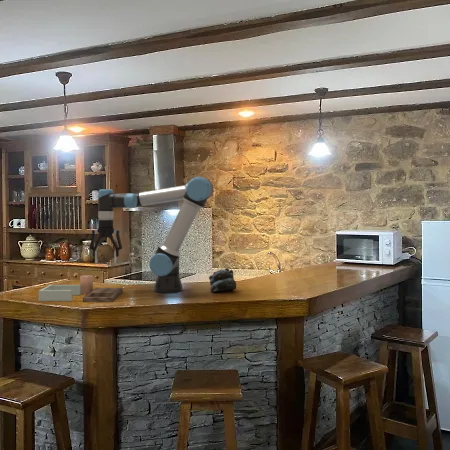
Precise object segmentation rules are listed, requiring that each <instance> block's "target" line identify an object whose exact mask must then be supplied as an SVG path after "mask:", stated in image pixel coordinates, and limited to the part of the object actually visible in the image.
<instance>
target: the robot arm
mask: <svg viewBox="0 0 450 450" xmlns="http://www.w3.org/2000/svg"><path fill="white" fill-rule="evenodd" d="M213 193H214V185H213V183H212V181H211V180H209V179H207V178H206V177H203V176H196V177H195V176H194V177H192V179H190V180H189V181H188V182H186V183H185V184H184V185H179V186H172V187H171V186H170V187H165V188H159V189H153V190H146V191H139V192H133V193H131V192H129V193H126V192H123V193H120V192H119V193H116V192H114V190H113V189H111V188H110V189H109V188H107V189H105V188H102V189H101V188H100V189H99V190H98V196H97V205H98V206H97V209H98V210H97V211H98V212H97V213H98V214H97V217H98V224H97V226H98V227H97V229H92V230H91V234H92V235H91V239H90V244H89V250H92V254H93V255H92V256H93V257H95V258H94V263H95V264H98V263H99V260H98V258H97V250H98V248H99V246H100V243H101V241H102V239H104V238H107V239H108V238H109V240H110V241H111V244H112V245H113V248H114V249H115V250H114V258H113V259H114V261H113V262H114V264H117V263H118V257H119V256H120V253H119V252H120V250H123V244H122V241H121V237H120V232H121V231H120V229H118V230H117V229H115V228H114V209H135V208H140V207H144V206H146V207H147V206H152V205H158V204H159V205H160V204H164V203H170V202H176V201H177V202H178V201H183V203H182V205H181V206H180V208H179V211H178V213H177V215H176V216H175V219H174V221H173V223H172V225H171V227H170V229H169V231H168V233H167V235H166V237H165V240H164V241H163V243H162V244H159V245H158V247H157V248H156V251H155V253H154V254H153V255H151V258H150V259H149V263H148V264H149V269H150V271H151V272H152V274H154V275H155V276H157V278H156V280H155V283H154V287H153V289H154V292H156V293H163V294H164V293H165V294H169V293H171V294H173V293H174V294H175V293H179V292H182V291H183V284H182V281H181V278H180V255H181V254H180V249H181V246H183V245H182V244H183V243H184V241H185V239H186V237H187V236H188V235H187V234H188V233H189V230H190V229H191V226H192V225H193V222H194V220H195V219H196V216H197V215H198V213H199V210H201V209H203V208H204V207H205V205H206V203H207V202H208V199H210V198H211V197H212V195H213ZM97 234H99V236H98V238H97V241H96V242H95V240H96V236H97ZM113 234H115V237H116V240H117V242H116V240H115V238H114V236H113Z"/></svg>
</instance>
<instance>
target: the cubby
mask: <svg viewBox="0 0 450 450" xmlns="http://www.w3.org/2000/svg"><path fill="white" fill-rule="evenodd" d="M80 295H82V294H81V285H80V284H48V285H47V286H45V287H44V288H41V289H39V290H38V302H72V301H73V296H80Z"/></svg>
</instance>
